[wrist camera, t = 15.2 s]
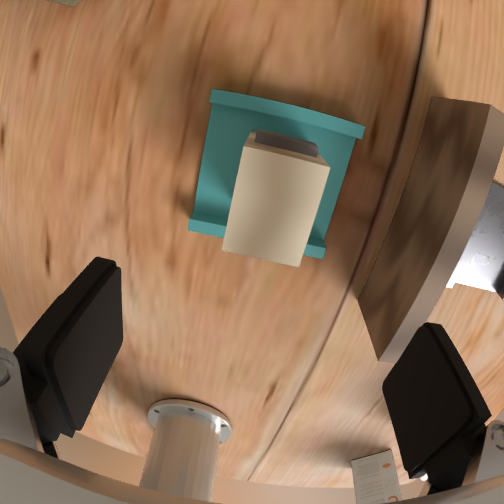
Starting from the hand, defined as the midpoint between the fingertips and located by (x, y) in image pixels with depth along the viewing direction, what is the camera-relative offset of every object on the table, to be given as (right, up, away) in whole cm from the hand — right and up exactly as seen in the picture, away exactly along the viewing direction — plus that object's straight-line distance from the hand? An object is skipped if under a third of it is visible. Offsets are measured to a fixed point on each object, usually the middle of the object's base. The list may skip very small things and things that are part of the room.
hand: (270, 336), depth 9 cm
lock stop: (+1, +8, +15) cm, 17 cm away
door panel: (+13, +6, +16) cm, 21 cm away
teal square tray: (+1, +9, +15) cm, 17 cm away
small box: (+23, -37, +38) cm, 58 cm away
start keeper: (+24, +4, +16) cm, 30 cm away
